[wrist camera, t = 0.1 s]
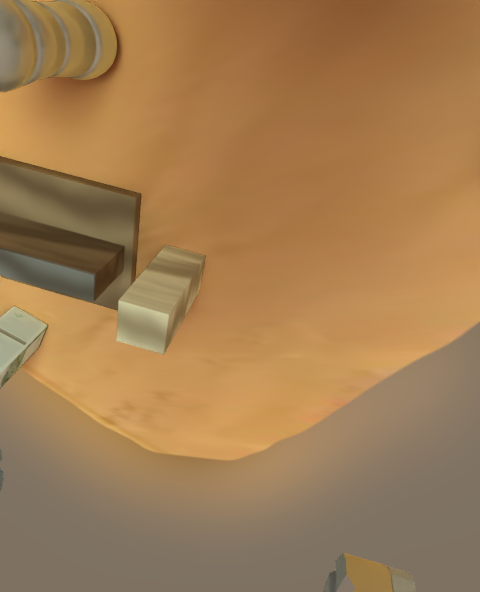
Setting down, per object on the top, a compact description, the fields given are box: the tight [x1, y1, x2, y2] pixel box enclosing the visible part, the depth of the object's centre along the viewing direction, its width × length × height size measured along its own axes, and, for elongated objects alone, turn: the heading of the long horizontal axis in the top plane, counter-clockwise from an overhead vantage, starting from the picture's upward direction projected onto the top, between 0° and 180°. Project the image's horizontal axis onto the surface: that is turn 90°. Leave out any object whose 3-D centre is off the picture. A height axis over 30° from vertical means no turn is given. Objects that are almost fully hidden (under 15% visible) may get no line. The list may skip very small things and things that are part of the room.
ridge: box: [0, 156, 141, 310], centre depth 49 cm, size 16×18×9 cm
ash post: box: [117, 245, 206, 354], centre depth 47 cm, size 5×5×13 cm
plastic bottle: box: [0, 0, 117, 93], centre depth 33 cm, size 6×7×20 cm
